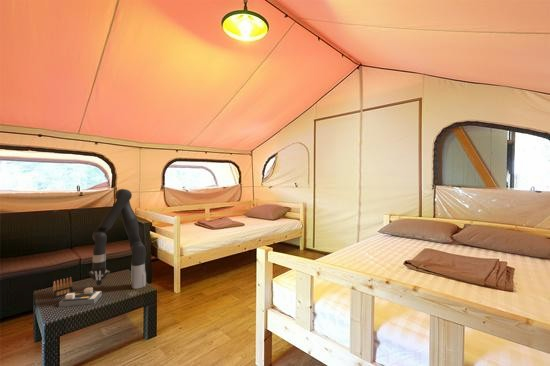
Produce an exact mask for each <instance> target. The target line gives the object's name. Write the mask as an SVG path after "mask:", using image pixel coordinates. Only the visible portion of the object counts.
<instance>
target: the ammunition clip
mask: <svg viewBox="0 0 550 366" xmlns="http://www.w3.org/2000/svg"><path fill="white" fill-rule="evenodd" d="M72 292H74V290H73V280H72V277H71V276H70V277H66V279H65V278H63V280H62V278H60V280H59V279H57V280H54V281H53V285H52V298H53V299H57V298H60V297H65V295H66V294H68V293H72Z"/></svg>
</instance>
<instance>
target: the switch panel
mask: <svg viewBox="0 0 550 366" xmlns="http://www.w3.org/2000/svg"><path fill="white" fill-rule="evenodd" d="M72 293H75V298H74V299H66V300H65V296H63V298H62V299H60V301H58V307H59V308H61V307H62V308H64V307H72V306H73V307H74V306H82V305H92V304H93V305H94V304H96V302H97V301H98V300H99V299H100V298H101V297H102V294H103V291H102V290H96V289H93V292H92V293H90V294H84V290H82V291H81V290H80V291H73V292H72Z"/></svg>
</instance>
